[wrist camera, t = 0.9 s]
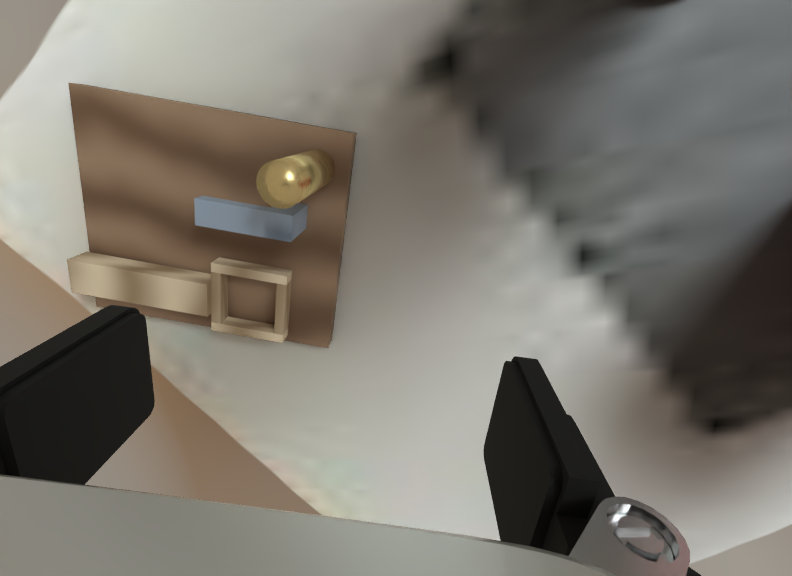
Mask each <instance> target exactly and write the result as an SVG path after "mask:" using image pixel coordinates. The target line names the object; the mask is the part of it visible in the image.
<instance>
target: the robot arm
mask: <svg viewBox="0 0 792 576" xmlns="http://www.w3.org/2000/svg"><path fill="white" fill-rule="evenodd" d="M153 408H154V392H153V383H152V374H151V364H150V354H149V345H148V336H147V327H146V319H145V317H144V315H142V314H140V312H139V310H138V309H136V308H133V307H125V306H118V305H110V306H107V307H105V308H104V309H102V310H100V311H98V312H97V313H95V314H93V315H91V316H90V317H88V318H86V319H84V320H82V321H81V322H79V323H77V324H75V325H73V326H72V327H70V328H68V329H66V330H65V331H63V332H62V333H59V334H58V335H56V336H54V337H53V338H50V339H49V340H47V341H45V342H43V343H42V344H40V345H38V346H36V347H35V348H33V349H31V350H30V351H28V352H26V353H24V354H22V355H20V356H19V357H17V358H15V359H13V360H12V361H10V362H8V363H6V364H4V365H3V366H1V367H0V576H701V575H700V574H698V573H697V572H695V571H694V570H692V569H691V568H690V567H688V566H689V562H690V551H689V548H688V546H687V543H686V541H685V539H684V538H683V536H682V535H681V533H680V532H679V531H678V529H677V528H676V527H675V526H674V525H673V524H672V523H671V522H670V521H669V520H668V519H667V518H666V517H664V516H663V515H661V514H660V513H659V512H657V511H656V510H654V509H653V508H651V507H649V506H647V505H645V504H643V503H641V502H639V501H636V500H633V499H629V498H626V497H615V495H614V494H613V492H612V490H611V488H610V486H609V484H608V483H607V481H606V479H605V477H604V475H603V473H602V471H601V470H600V468H599V466H598V464H597V462H596V460H595V458H594V457H593V455H592V453H591V451H590V449H589V447H588V445H587V444H586V442H585V440H584V438H583V436H582V434H581V433H580V431H579V429H578V427H577V425H576V423H575V421H574V420H573V418H572V417H571V416H570V415H567V414H566V412H565V411H564V409H563V407H562V405H561V403H560V401H559V399H558V397H557V395H556V393H555V391H554V390H553V388H552V386H551V384H550V382H549V380H548V378H547V376H546V374H545V372H544V371H543V369H542V367H541V365H540V363H539V361H538V360H537V359H531V358H523V357H514V358H513V359H512V361H511V362H510V361H506V362H505V363H504V366H503V370H502V374H501V378H500V383H499V387H498V391H497V395H496V399H495V403H494V407H493V411H492V415H491V419H490V424H489V428H488V432H487V436H486V440H485V445H484V461H485V465H486V470H487V475H488V480H489V485H490V490H491V495H492V500H493V505H494V510H495V515H496V520H497V525H498V530H499V535H500V539H501V541H496V540H491V539H485V538H479V537H473V536H468V535H460V534H453V533H446V532H438V531H431V530H424V529H416V528H409V527H402V526H394V525H387V524H380V523H372V522H365V521H358V520H350V519H343V518H336V517H328V516H321V515H313V514H306V513H299V512H292V511H284V510H276V509H269V508H261V507H253V506H246V505H238V504H230V503H222V502H215V501H207V500H200V499H191V498H184V497H177V496H169V495H161V494H153V493H145V492H138V491H130V490H122V489H113V488H106V487H98V486H89V485H85V483H86V482H87V481H88V480H89V479H90V478H91V477H92V476H93V475H94V474H95V473H96V472H97V471H98V470H99V469H100V468H101V466H102V465H103V464H104V463H105V462H106V461H107V460H108V459H109V458H110V457H111V456H112V455H113V454H114V453H115V451H117V449H118V448H119V447H120V446H121V445H122V444H123V443H124V442H125V441H126V440H127V439H128V438H129V437H130V436H131V435H132V434H133V433H134V431H135V430H136V429H137V428H138V427H139V426H140V425H141V424H142V423H143V422H144V421H145V420H146V419H147V418H148V416H149V415H150V414H151V412H152V410H153Z"/></svg>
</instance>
